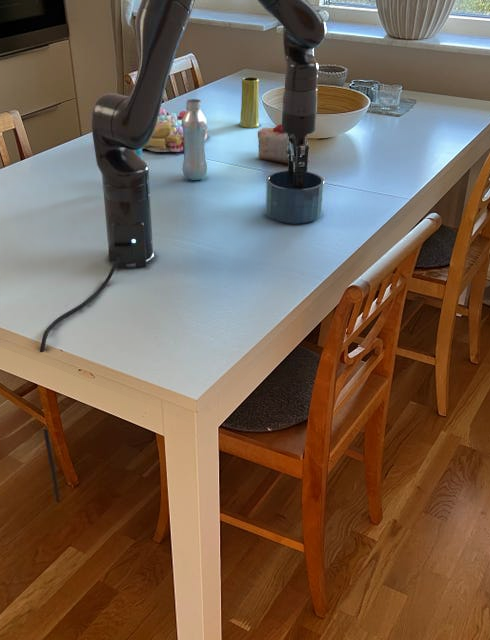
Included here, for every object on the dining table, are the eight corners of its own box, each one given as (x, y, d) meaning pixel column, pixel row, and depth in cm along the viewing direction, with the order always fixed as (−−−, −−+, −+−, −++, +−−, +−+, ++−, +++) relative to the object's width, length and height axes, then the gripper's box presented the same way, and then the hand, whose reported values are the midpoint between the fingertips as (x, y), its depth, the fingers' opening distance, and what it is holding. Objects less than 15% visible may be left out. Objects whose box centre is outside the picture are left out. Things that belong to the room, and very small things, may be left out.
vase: (236, 123, 238) (237, 77, 230) (253, 121, 240) (254, 75, 232) (245, 129, 233) (246, 81, 225) (262, 126, 235) (263, 80, 227)
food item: (252, 159, 209) (253, 124, 203) (266, 152, 215) (267, 117, 209) (296, 168, 203) (298, 132, 198) (308, 160, 209) (311, 124, 203)
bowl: (326, 224, 171) (329, 189, 167) (269, 226, 170) (271, 190, 166) (315, 202, 182) (317, 169, 178) (262, 204, 181) (263, 170, 177)
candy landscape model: (196, 157, 210) (196, 124, 205) (116, 152, 213) (113, 120, 208) (211, 131, 231) (211, 101, 226) (138, 127, 234) (136, 97, 229)
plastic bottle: (178, 180, 195) (175, 102, 184) (190, 172, 200) (189, 96, 189) (199, 184, 192) (198, 105, 181) (211, 176, 197) (211, 99, 186)
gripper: (277, 101, 168) (274, 171, 177) (287, 118, 156) (283, 193, 166) (310, 100, 169) (305, 170, 178) (322, 118, 157) (316, 192, 166)
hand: (295, 181), depth 172 cm, fingers open, 7 cm apart
